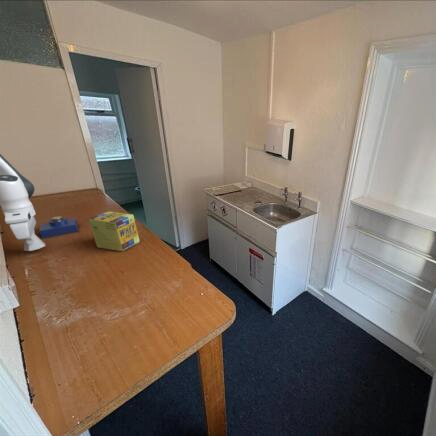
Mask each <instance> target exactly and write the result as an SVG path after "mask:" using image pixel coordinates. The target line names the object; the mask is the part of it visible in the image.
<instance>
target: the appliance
mask: <svg viewBox="0 0 436 436" xmlns="http://www.w3.org/2000/svg"><path fill="white" fill-rule="evenodd" d="M62 219H63V220H61V221H56V222H53V221H52V219H50V220H48V222H44V223H41V224H40V227H39V234H40V237H41V238H42V239H46V238H50V237H51V238H52V237H57V236H61V235H67V234H72V233H76V232H79V222H78V220H77V218H76V217H73V218H68V219H67V217H62Z"/></svg>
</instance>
